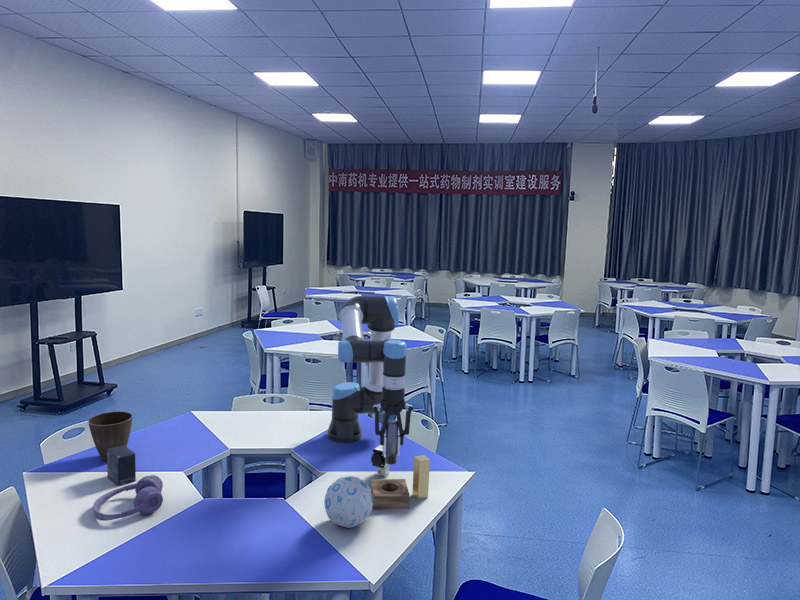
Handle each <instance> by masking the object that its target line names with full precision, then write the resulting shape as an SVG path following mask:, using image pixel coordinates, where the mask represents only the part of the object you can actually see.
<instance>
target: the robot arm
mask: <svg viewBox="0 0 800 600" xmlns="http://www.w3.org/2000/svg"><path fill="white" fill-rule="evenodd" d="M338 320H339V323H340V324H341V330H342V331H341V332H342V333H341V334H342V340H339V341H338V344H337V345H338V346H337V347H338V348H337V359H338V361H339V362H340V363H348V364H351V363H368V374H367V375H368V379H367V380H366V381H365V382H364V385H363V386H360V384H359V383H357V382H353V381H352V382H351V381H350V382H342V383H339V384H336V386H334V387H333V389H332V395H331V400H332V402H331V403H332V404H331V420H330V423H329V426H328V429H327V435H326V436H327V438H328V439H329V440H330V441H333V442H336V443H351V442H356V441H359V440H360V439H362V436H363V429H362V426H361V424H360V420H359V415H360V414H361V415H362V414H365V415H366V414H374V433H375V435H376V436H379V445H380V444H381V446H383V455H384V456H386V427H387V423H388V420H390V419H389V418H390V416H392V415H395V416H396V421H398V444H397V457H398V456H400V455H401V453H400V452H401V446H403V445H404V437H405V436H407V435H409V434H410V428H411V413H412V412H413V409H414V407H413V405H412V403H411V404H410V403H409V404H408V403H406V401H405V394H406V393H405V391H406V389H405V385H406V362H407V352H408V351H407V343H406V342H405V341H403V340H401V339H400V340H399V339H392V338H391V335H392V334H391V333H392V332H393V331H394V330H395V329H396V325H399V324H400V313H399V305H398V301H397V298H396V297H394V296H387V295H384V296H383V295H373V296H372V295H357V296H353V297H351V298H349V299H347V301H346V302H344V303H343V304H342V305H341V306H340V308H339V312H338ZM363 325H366V326H367V327H366V328H367V329H368V330H369V331H370V334H369V335H370V338H369V340H365V338H364V332H363ZM404 409H405V411H406V412H405V422H404V428H403V424H402V423H403V422H402V416H401V412H402V411H403V410H404ZM381 414H384V416H383V420H382V424H381V427H380V415H381ZM380 428H381V429H380Z"/></svg>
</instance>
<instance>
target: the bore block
mask: <svg viewBox="0 0 800 600" xmlns="http://www.w3.org/2000/svg"><path fill="white" fill-rule="evenodd" d="M370 490H371V493H372V497H373V505H372V510H391V509H392V510H394V509H396V510H397V509H401V510H402V509H410V491H409V489H408V486H407V481H406V478H385V479H384V478H383V479H382V478H381V479H380V478H379V479H377V478H376V479H371V480H370Z"/></svg>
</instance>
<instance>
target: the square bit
mask: <svg viewBox="0 0 800 600" xmlns="http://www.w3.org/2000/svg"><path fill="white" fill-rule="evenodd" d="M430 462H431V459H430V458H429V457H427V455H425V454H420V455H417V456H413V474H412V496H413V497H414V498H415V499H417V500H418V501H419V500H423V499H428V498H429V487H430V486H429V485H430V464H431V463H430Z"/></svg>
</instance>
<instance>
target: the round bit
mask: <svg viewBox="0 0 800 600" xmlns="http://www.w3.org/2000/svg"><path fill="white" fill-rule="evenodd" d="M385 434H386V456H385V463H387V464H388V465H396V464H397V462H398V456H397V444H398V434H399V428H398V421H397V419H396V420H395V419H388V423H387V427H386V431H385Z"/></svg>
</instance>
